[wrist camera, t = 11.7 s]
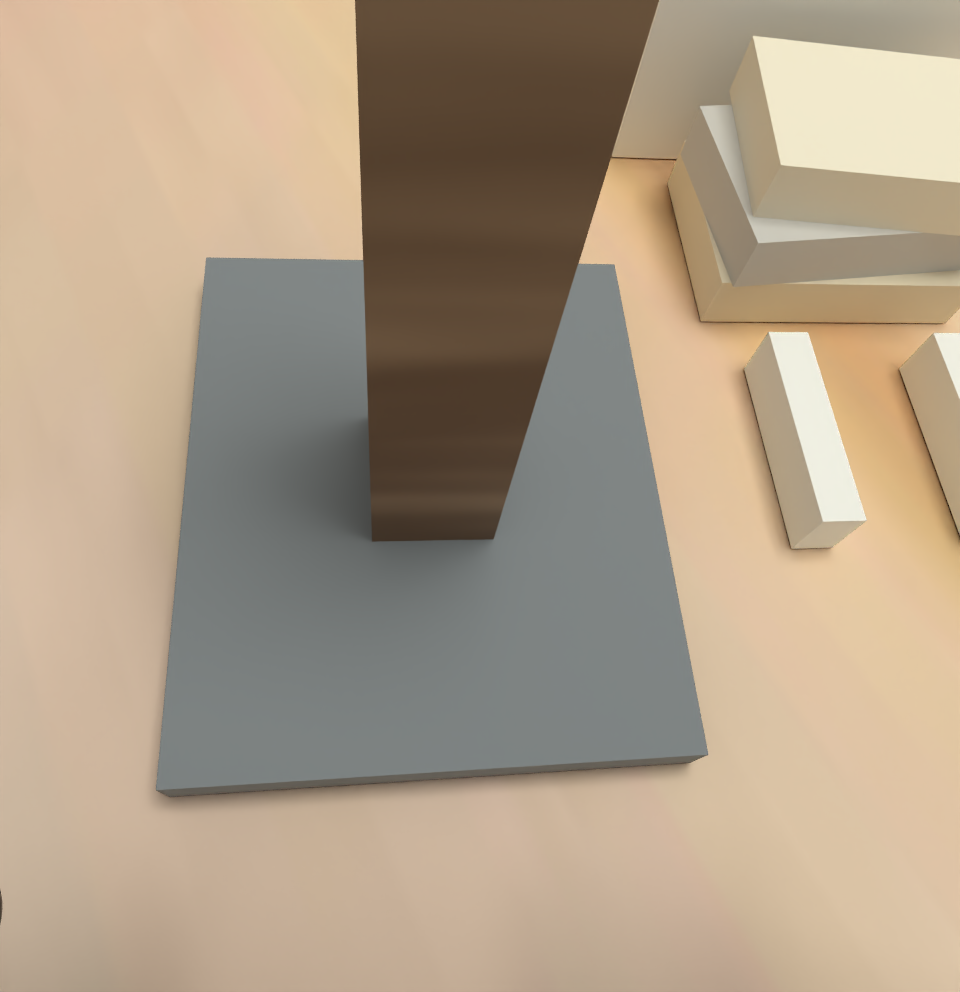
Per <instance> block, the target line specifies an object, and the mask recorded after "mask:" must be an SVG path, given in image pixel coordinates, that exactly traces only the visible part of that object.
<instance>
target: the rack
mask: <svg viewBox="0 0 960 992" xmlns="http://www.w3.org/2000/svg"><path fill="white" fill-rule="evenodd" d="M612 157H627V158H656V159H677V160H676V163H675V165H674V168H673V170H672V173H671V175H670V178H669V180H668V183H667V184H668V188H669V192H670V196H671V200H672V204H673V209H674V213H675V217H676V221H677V225H678V229H679V233H680V237H681V242H682V246H683V250H684V254H685V258H686V262H687V266H688V270H689V274H690V279H691V283H692V287H693V291H694V295H695V299H696V303H697V307H698V312H699V316H700V320H701V321H712V322H842V323H946V322H947V321H948V320H949V319H950V318H951V317H952V315H953V314H954V313H955V312H956V311H957V310H958V309H959V308H960V0H659V2H658V6H657V9H656V12H655V15H654V19H653V22H652V25H651V28H650V32H649V35H648V38H647V42H646V45H645V48H644V51H643V55H642V58H641V61H640V64H639V68H638V71H637V74H636V77H635V81H634V84H633V87H632V90H631V94H630V97H629V100H628V103H627V107H626V110H625V113H624V116H623V120H622V123H621V126H620V129H619V133H618V136H617V139H616V142H615V146H614V149H613V152H612ZM899 370H900V373H901V375H902V378H903V381H904V384H905V386H906V389H907V392H908V395H909V397H910V400H911V403H912V406H913V408H914V411H915V414H916V416H917V419H918V422H919V425H920V427H921V430H922V433H923V436H924V438H925V441H926V444H927V447H928V449H929V452H930V455H931V458H932V460H933V463H934V466H935V469H936V471H937V474H938V477H939V480H940V482H941V485H942V488H943V491H944V493H945V496H946V499H947V502H948V504H949V507H950V510H951V512H952V515H953V518H954V521H955V523H956V526H957V529H958V532H959V534H960V333H933V334H932V335H931V336H930V337H929V338H928V339H927V340H926V341H925V342H924V343H923V344H922V345H921V346H920V347H919V348H918V350H917V351H916V352H915V353H914V354H913V355H912V356H911V357H910V358H909V359H908V360H907V361H906V362H905V363H904V364H903V365H902V366H901V367H900V368H899ZM744 371H745V374H746V378H747V382H748V386H749V390H750V393H751V397H752V401H753V405H754V409H755V412H756V416H757V420H758V424H759V428H760V431H761V435H762V439H763V443H764V447H765V450H766V454H767V458H768V462H769V466H770V469H771V473H772V477H773V481H774V485H775V488H776V492H777V496H778V500H779V503H780V507H781V511H782V515H783V519H784V522H785V526H786V530H787V534H788V538H789V541H790V545H791V549H802V548H832V547H834V546H835V545H836V544H837V543H839V542H840V541H841V540H843V539H844V538H845V537H846V536H848V535H849V534H850V533H851V532H853V531H854V530H855V529H857V528H858V527H859V526H860V525H862V524H863V523H864V522H865V521H867V520H866V517H865V513H864V510H863V507H862V504H861V501H860V497H859V494H858V491H857V488H856V485H855V481H854V478H853V475H852V472H851V469H850V465H849V462H848V459H847V456H846V453H845V449H844V446H843V443H842V440H841V437H840V433H839V430H838V427H837V424H836V421H835V417H834V414H833V411H832V408H831V405H830V401H829V398H828V395H827V392H826V389H825V385H824V382H823V379H822V376H821V373H820V369H819V366H818V363H817V360H816V357H815V353H814V350H813V347H812V344H811V341H810V337H809V334H808V332H768V334H767V335H766V337H765V338H764V340H763V341H762V343H761V344H760V346H759V347H758V349H757V350H756V352H755V353H754V355H753V356H752V357H751V359H750V360H749V362H748V363H747V365H746V366H745V368H744Z"/></svg>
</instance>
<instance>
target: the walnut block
mask: <svg viewBox="0 0 960 992" xmlns="http://www.w3.org/2000/svg"><path fill="white" fill-rule="evenodd" d="M658 2H659V0H355V10H356V42H357V74H358V107H359V139H360V171H361V203H362V235H363V267H364V300H365V332H366V364H367V396H368V428H369V461H370V493H371V525H372V542H377V541H431V540H485V539H494V537H495V533H496V530H497V527H498V524H499V520H500V517H501V514H502V510H503V507H504V504H505V501H506V497H507V494H508V491H509V488H510V484H511V481H512V478H513V475H514V471H515V468H516V465H517V462H518V458H519V455H520V452H521V449H522V445H523V442H524V439H525V436H526V432H527V429H528V426H529V423H530V419H531V416H532V413H533V410H534V406H535V403H536V400H537V396H538V393H539V390H540V387H541V383H542V380H543V377H544V374H545V370H546V367H547V364H548V361H549V357H550V354H551V351H552V348H553V344H554V341H555V338H556V335H557V331H558V328H559V325H560V322H561V318H562V315H563V312H564V309H565V305H566V302H567V299H568V296H569V292H570V289H571V286H572V283H573V279H574V276H575V273H576V269H577V266H578V263H579V260H580V256H581V253H582V250H583V247H584V243H585V240H586V237H587V234H588V230H589V227H590V224H591V221H592V217H593V214H594V211H595V208H596V204H597V201H598V198H599V195H600V191H601V188H602V185H603V182H604V178H605V175H606V172H607V169H608V165H609V162H610V159H611V155H612V152H613V149H614V146H615V142H616V139H617V136H618V133H619V129H620V126H621V123H622V120H623V116H624V113H625V110H626V107H627V103H628V100H629V97H630V94H631V90H632V87H633V84H634V81H635V77H636V74H637V71H638V68H639V64H640V61H641V58H642V55H643V51H644V48H645V45H646V42H647V38H648V35H649V32H650V28H651V25H652V22H653V19H654V15H655V12H656V9H657V6H658Z"/></svg>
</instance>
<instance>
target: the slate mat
mask: <svg viewBox="0 0 960 992" xmlns="http://www.w3.org/2000/svg"><path fill="white" fill-rule="evenodd" d="M706 755H708V750H707V745H706V740H705V735H704V730H703V724H702V719H701V714H700V709H699V703H698V698H697V693H696V688H695V683H694V677H693V672H692V667H691V662H690V657H689V651H688V646H687V641H686V636H685V630H684V625H683V620H682V615H681V610H680V604H679V599H678V594H677V589H676V584H675V578H674V573H673V568H672V563H671V557H670V552H669V547H668V542H667V537H666V531H665V526H664V521H663V516H662V510H661V505H660V500H659V495H658V490H657V484H656V479H655V474H654V469H653V464H652V458H651V453H650V448H649V443H648V437H647V432H646V427H645V422H644V417H643V411H642V406H641V401H640V396H639V391H638V385H637V380H636V375H635V370H634V364H633V359H632V354H631V349H630V344H629V338H628V333H627V328H626V323H625V317H624V312H623V307H622V302H621V297H620V291H619V286H618V281H617V276H616V271H615V265H611V264H578V266H577V269H576V273H575V276H574V279H573V283H572V286H571V289H570V292H569V296H568V299H567V302H566V305H565V309H564V312H563V315H562V318H561V322H560V325H559V328H558V331H557V335H556V338H555V341H554V344H553V348H552V351H551V354H550V357H549V361H548V364H547V367H546V370H545V374H544V377H543V380H542V383H541V387H540V390H539V393H538V396H537V400H536V403H535V406H534V410H533V413H532V416H531V419H530V423H529V426H528V429H527V432H526V436H525V439H524V442H523V445H522V449H521V452H520V455H519V458H518V462H517V465H516V468H515V471H514V475H513V478H512V481H511V484H510V488H509V491H508V494H507V497H506V501H505V504H504V507H503V510H502V514H501V517H500V520H499V524H498V527H497V530H496V533H495V537H494V539H485V540H431V541H377V542H372V525H371V493H370V461H369V428H368V396H367V364H366V332H365V300H364V267H363V260H316V259H257V258H206V266H205V276H204V287H203V297H202V308H201V319H200V329H199V340H198V350H197V361H196V371H195V382H194V392H193V403H192V414H191V424H190V435H189V445H188V456H187V466H186V477H185V488H184V498H183V509H182V519H181V530H180V540H179V551H178V561H177V572H176V583H175V593H174V604H173V614H172V625H171V635H170V646H169V657H168V667H167V678H166V688H165V699H164V709H163V720H162V731H161V741H160V752H159V762H158V773H157V783H156V791H158V792H161V793H163V794H165V795H167V796H169V797H174V796H189V795H204V794H219V793H235V792H250V791H265V790H280V789H296V788H311V787H326V786H341V785H357V784H372V783H387V782H402V781H418V780H433V779H448V778H463V777H479V776H494V775H509V774H524V773H540V772H555V771H570V770H585V769H601V768H616V767H631V766H646V765H662V764H677V763H691V762H693V761H695V760H697V759H700V758H702V757H704V756H706Z"/></svg>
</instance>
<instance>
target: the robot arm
mask: <svg viewBox="0 0 960 992" xmlns="http://www.w3.org/2000/svg"><path fill="white" fill-rule="evenodd" d="M1 917H2V896H1V891H0V923H1Z"/></svg>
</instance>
